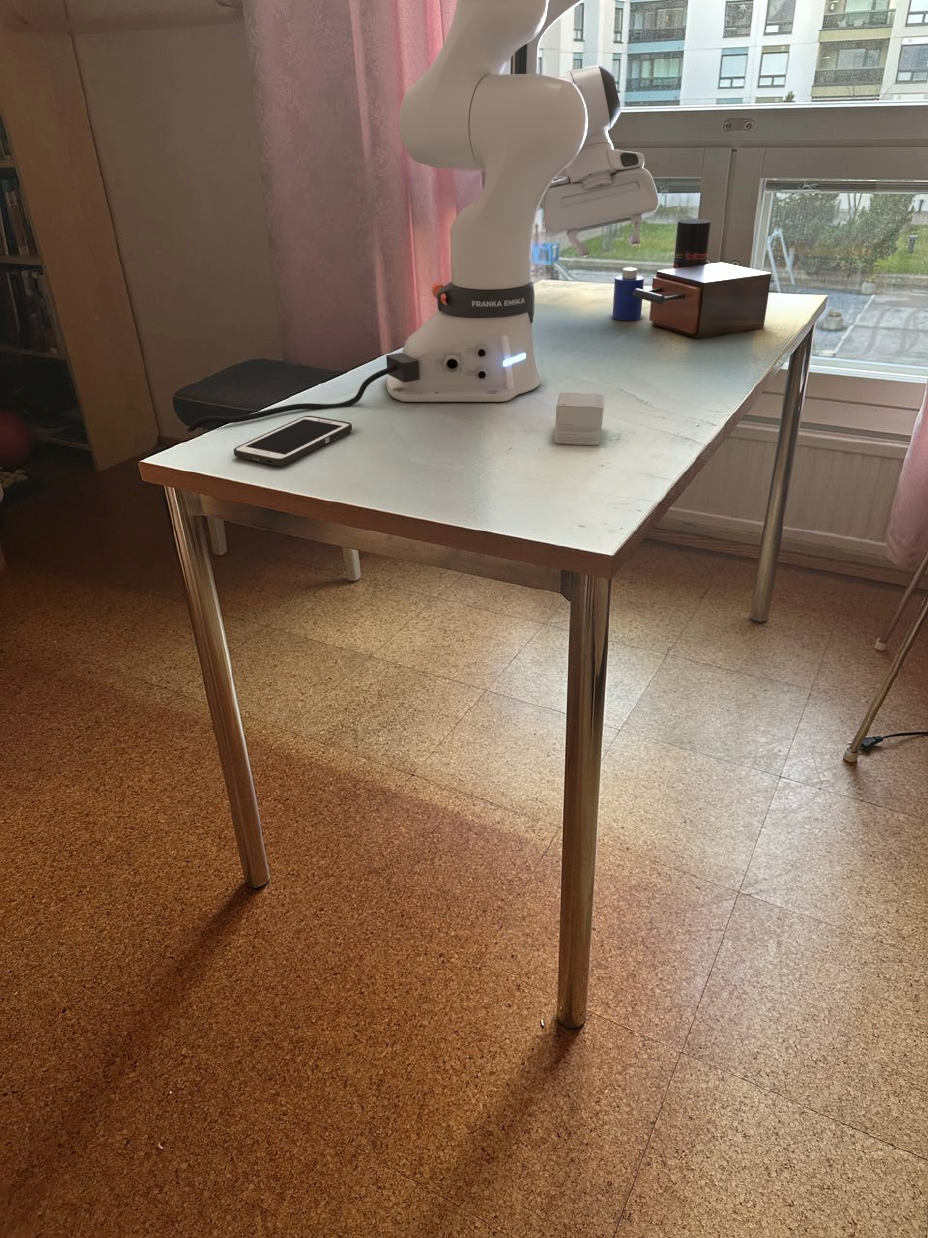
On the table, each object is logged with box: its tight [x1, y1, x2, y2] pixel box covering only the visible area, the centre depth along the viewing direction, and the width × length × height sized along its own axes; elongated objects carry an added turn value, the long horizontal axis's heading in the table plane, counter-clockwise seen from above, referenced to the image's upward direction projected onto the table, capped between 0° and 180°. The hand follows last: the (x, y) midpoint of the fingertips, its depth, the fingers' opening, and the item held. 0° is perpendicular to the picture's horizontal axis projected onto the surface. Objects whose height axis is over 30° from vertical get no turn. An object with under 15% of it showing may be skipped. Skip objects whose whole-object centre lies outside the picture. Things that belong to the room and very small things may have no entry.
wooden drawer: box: [633, 276, 701, 334], centre depth 157 cm, size 19×11×7 cm, turn 118°
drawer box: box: [651, 262, 772, 340], centre depth 159 cm, size 15×13×9 cm
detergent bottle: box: [612, 267, 645, 322], centre depth 166 cm, size 5×5×8 cm
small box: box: [554, 391, 605, 446], centre depth 112 cm, size 6×6×5 cm
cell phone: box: [233, 415, 353, 467], centre depth 113 cm, size 8×15×1 cm, turn 150°
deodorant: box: [672, 218, 712, 269], centre depth 172 cm, size 6×6×15 cm
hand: (609, 250), depth 161 cm, fingers open, 8 cm apart
